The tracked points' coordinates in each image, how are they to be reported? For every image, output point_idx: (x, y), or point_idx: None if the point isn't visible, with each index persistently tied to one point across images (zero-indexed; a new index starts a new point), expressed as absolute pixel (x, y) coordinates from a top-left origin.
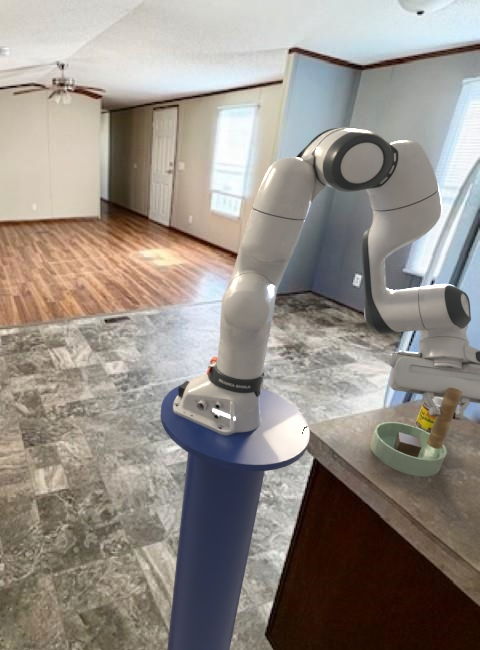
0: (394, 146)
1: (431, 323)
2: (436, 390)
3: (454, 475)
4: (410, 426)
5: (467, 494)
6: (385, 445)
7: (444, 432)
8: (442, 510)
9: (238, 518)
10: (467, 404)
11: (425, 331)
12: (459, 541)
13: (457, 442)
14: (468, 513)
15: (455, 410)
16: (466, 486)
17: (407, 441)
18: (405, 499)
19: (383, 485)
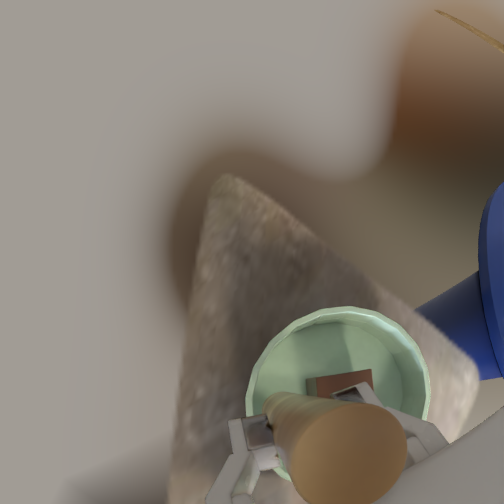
0: None
1: None
2: (424, 466)
3: (209, 413)
4: None
5: (190, 350)
6: (399, 326)
7: (277, 397)
8: (245, 262)
9: (441, 298)
10: (215, 492)
11: None
12: (225, 197)
13: None
14: (198, 282)
15: (278, 418)
16: (188, 381)
17: (353, 385)
18: (311, 255)
19: (352, 275)
